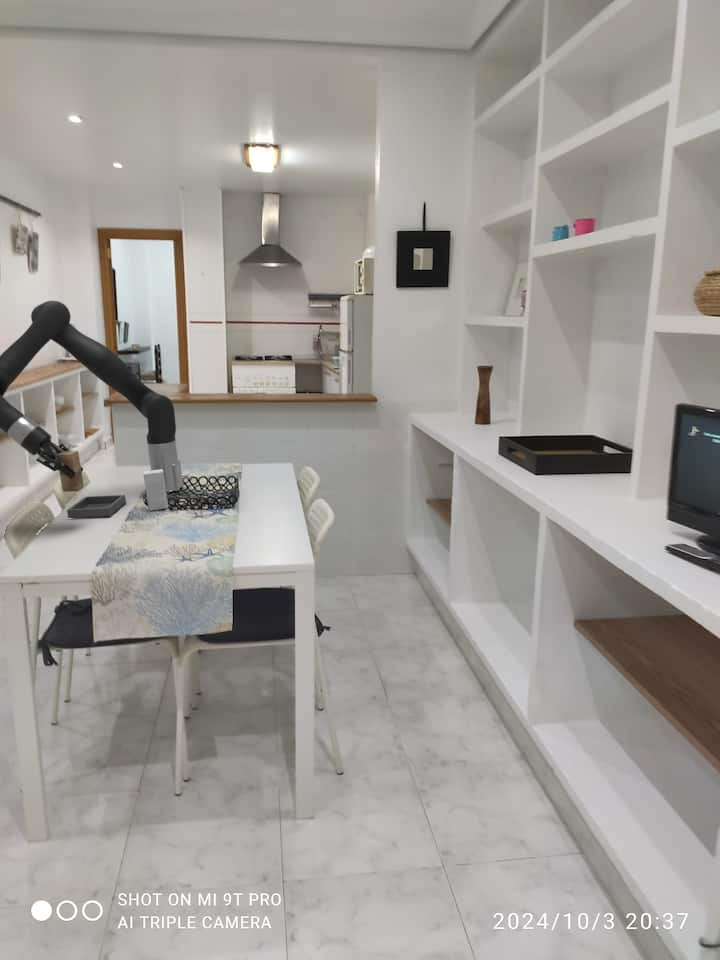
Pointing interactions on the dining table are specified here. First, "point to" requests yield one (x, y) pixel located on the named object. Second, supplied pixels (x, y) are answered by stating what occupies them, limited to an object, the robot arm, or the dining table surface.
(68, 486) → the block
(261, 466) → the dining table surface
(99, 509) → the tray
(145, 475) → the skincare box
